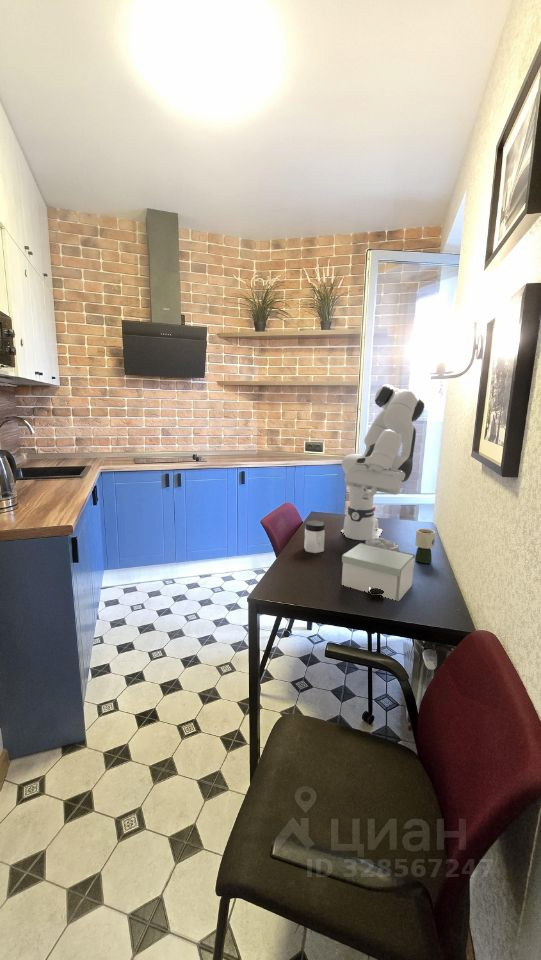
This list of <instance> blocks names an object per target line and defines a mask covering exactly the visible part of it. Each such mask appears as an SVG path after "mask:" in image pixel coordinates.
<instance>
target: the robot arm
mask: <svg viewBox="0 0 541 960" xmlns="http://www.w3.org/2000/svg"><path fill="white" fill-rule="evenodd" d="M374 402H375V404H376V405H377V407H379V408H382V410H381V411H380V412H379V413H378V414H377V415H376V417H375V419H374V421H372V424H371V426H370V427H369V430H368V431H367V433H366V435H365V437H364V439H363V440H364V441H363V442H364V444H365V450H364V454H360V453H350V454H347V455H345V456H344V457H343V459H342V461H341V468H342V471H343V472H344V474H345V476H344V482H345V485H346V486H347V487H348V489H349V501H348V506H347V514H346V515H345V516H344V522H343V529H340V533H341V532H342V533H341V534H343V533H344V534H343V536H344V535H345V538H347V539H352V540H357V541H367V540H370V539H378V538H380V537H381V536H382V534H381V533H383V532H382V531H383V529H382V528H379V520H378V519H377V518H376V516H375V511H376V510H377V509H376V506H374V497H375V495H376V494H377V492H379V493H386V494H390V495H398V494H400V492H401V489H402V485H403V484H402V483H404V482H407V481H408V480H409V478H410V477H411V475H412V472H413V467H414V466H413V463H414V462H413V461H414V460H413V458H414V454H415V453H414V451H415V444H416V435H417V429H416V428H415V426H414V425H413V422H416V421H417V420H418V419H419V418H421V416H422V415H423V413H424V410H425V402H423V401H422V400H421V399H420V398H417V397H416V395H415V394H414V393H413V392H412V391H411V390H409V389H399V388H398V387H394V386H393V385H391V384H382V386H380V388H379V389H377V391H376V393H375V399H374ZM401 446H402V447H401ZM400 448H401V452H400V455H399V451H400ZM379 536H380V537H379Z"/></svg>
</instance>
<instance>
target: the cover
mask: <svg viewBox="0 0 541 960" xmlns="http://www.w3.org/2000/svg"><path fill="white" fill-rule="evenodd" d="M364 544H365V543H364ZM364 544H360V543H359V544H357V545H355V546H354V547H352V548H351V549H350V550H348V551H347V552H344V553H343V554H342V555H341V563H342V564H343V563H347V564H351V565H355V566H359V567H363V568H367V569H371V570H375V571H379V572H383V573H387V574H390V575H394V576H398V577H399V576H400V570H401V569H402V568H403V567H404V566H405V565H406V564H407V563H408V562H409V561H410V560H411V559H412V558H413V555H409V554H410V553H409V554H405V553H406V552H405V553H400V552H401V551H400V552H395V551H391V550H386V549H382V548H377V547H373V546H368V545H364Z"/></svg>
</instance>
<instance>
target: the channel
mask: <svg viewBox="0 0 541 960" xmlns="http://www.w3.org/2000/svg"><path fill="white" fill-rule="evenodd" d="M359 544H364V545H368V544H365V542H364V543H363V542H359ZM368 546H373V545H368ZM373 547H377V546H373ZM377 548H382V547H377ZM382 549H386V550H391V549H387V548H382ZM391 551H395V552H400V553H405V554H409V555H413V558H412V559H411V560H410V561H409V562H408V563H407V564H406V565H405V566H404V567H403V568H402V569H401V570H400V576H399V577H398V576H394V575H390V574H387V573H383V572H379V571H375V570H371V569H367V568H363V567H359V566H355V565H351V564H347V563H343V562H342V574H341V585H342V586H343V585H344V587H347V588H350V587H351V588H352V589H354V590H358V591H361V592H364V591H365V592H366V593H368V591H369V587H373V588H378V589H381V590H383V591H384V593H383V595H382V596H383V597H382V598H385V597H386V599H388V598H389V600H392V599H393V600H392V601H395V600H396V601H395V602H399V601H400V600H401V599H402V598H403V597H404V595H405V594H406V593H407V592H408V591H409V590H410V588H412V586H413V581H414V570H415V561H416V560H415V556H416V554H412V553H410V552H404V551H399V550H398V551H396V550H391ZM351 588H350V589H351Z"/></svg>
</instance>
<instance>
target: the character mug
mask: <svg viewBox="0 0 541 960" xmlns="http://www.w3.org/2000/svg"><path fill="white" fill-rule="evenodd" d="M435 539H436V531H435V530H433V529H429V528H418V529H416V532H415V546H416V547H417V548H416V551H415V552H416V553H415V560H414V561H416V562H419V563H422V564H432V561H433V559H432V548H435V547H434V546H435V541H436V540H435Z"/></svg>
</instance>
